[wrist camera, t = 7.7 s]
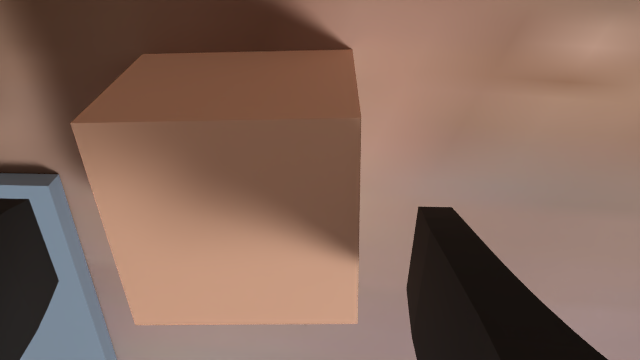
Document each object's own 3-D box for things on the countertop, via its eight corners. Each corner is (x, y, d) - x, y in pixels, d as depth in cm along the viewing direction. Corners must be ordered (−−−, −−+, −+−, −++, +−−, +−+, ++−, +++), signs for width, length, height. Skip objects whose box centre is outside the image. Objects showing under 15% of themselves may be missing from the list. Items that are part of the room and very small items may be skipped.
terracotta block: (350, 217, 14) (357, 323, 11) (180, 219, 15) (135, 325, 11) (352, 47, 12) (361, 117, 8) (144, 51, 12) (70, 123, 8)
